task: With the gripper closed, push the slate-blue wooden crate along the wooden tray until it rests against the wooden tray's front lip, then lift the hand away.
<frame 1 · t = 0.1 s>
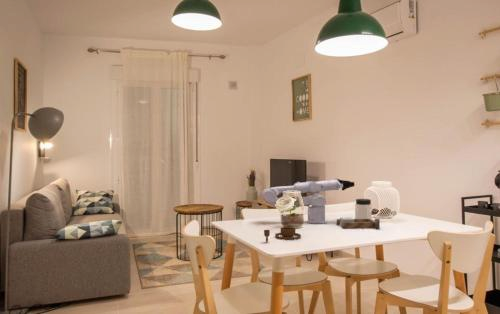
hand: (352, 183, 233), 22 cm above the table, tool horizontal, fingers open, 7 cm apart
place setting: (279, 239, 191), on the table
jar: (363, 220, 238), on the table
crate: (347, 226, 219), on the table
wooden tray: (356, 226, 219), on the table
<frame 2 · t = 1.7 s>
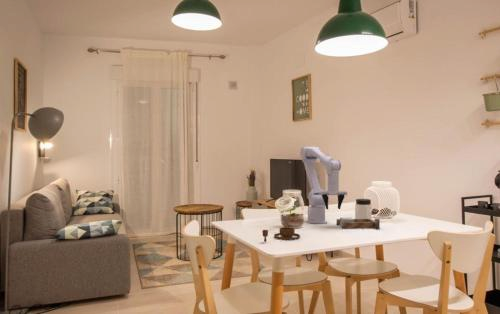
hand: (333, 208, 218), 9 cm above the table, tool pointing down, fingers open, 6 cm apart
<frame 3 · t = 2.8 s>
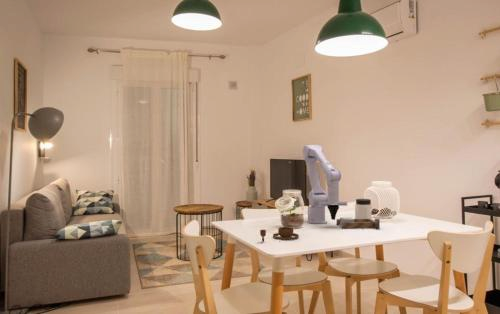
hand: (333, 219, 218), 4 cm above the table, tool pointing down, fingers closed
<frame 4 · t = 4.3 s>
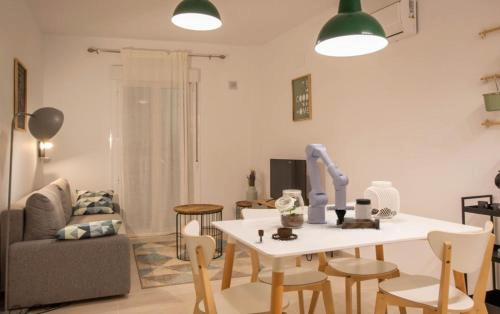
hand: (340, 223, 219), 1 cm above the table, tool pointing down, fingers closed
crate: (348, 226, 219), on the table, touching gripper
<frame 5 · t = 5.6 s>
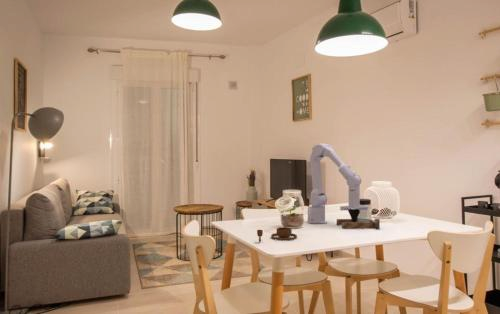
hand: (354, 223, 219), 1 cm above the table, tool pointing down, fingers closed
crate: (362, 226, 219), on the table, touching gripper
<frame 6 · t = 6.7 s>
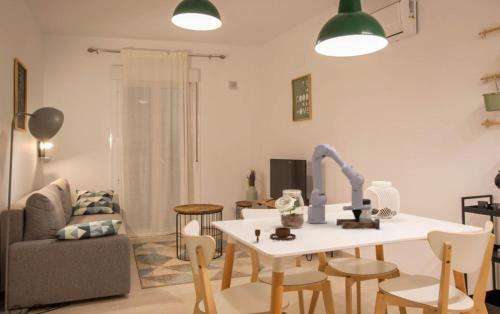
hand: (356, 223, 219), 1 cm above the table, tool pointing down, fingers closed
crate: (364, 226, 219), on the table, touching wooden tray, gripper
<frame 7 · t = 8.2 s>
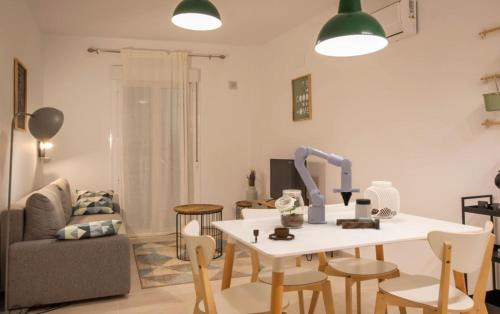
hand: (346, 205, 227), 10 cm above the table, tool pointing down, fingers closed
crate: (364, 226, 219), on the table
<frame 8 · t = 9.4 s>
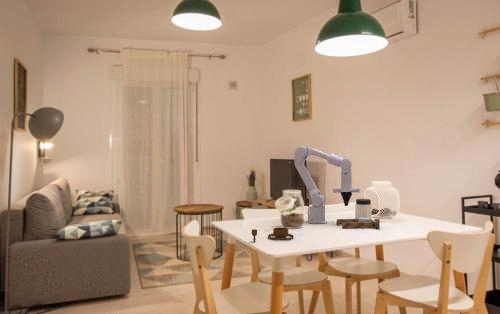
hand: (346, 205, 227), 10 cm above the table, tool pointing down, fingers closed
at the end: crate 0.7 cm from the target spot, on the table; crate tilted 0° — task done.
